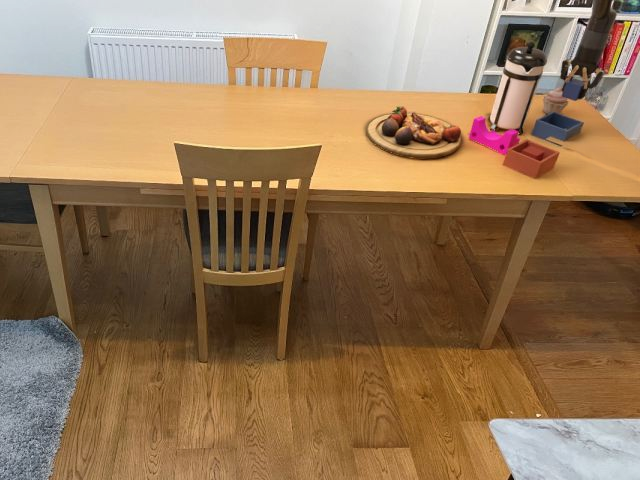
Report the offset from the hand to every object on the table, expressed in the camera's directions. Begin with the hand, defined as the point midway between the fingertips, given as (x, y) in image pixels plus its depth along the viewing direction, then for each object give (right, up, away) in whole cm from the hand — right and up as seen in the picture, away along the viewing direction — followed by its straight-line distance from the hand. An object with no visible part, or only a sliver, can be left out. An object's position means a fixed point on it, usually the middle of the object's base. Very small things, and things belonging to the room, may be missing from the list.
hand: (572, 95), depth 197 cm
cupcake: (+6, +2, +26) cm, 27 cm away
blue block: (0, 0, 0) cm, 0 cm away
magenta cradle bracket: (-25, -16, +4) cm, 30 cm away
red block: (-18, -25, -7) cm, 31 cm away
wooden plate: (-52, -13, +7) cm, 54 cm away
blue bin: (-1, -11, +11) cm, 15 cm away
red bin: (-18, -25, -7) cm, 32 cm away
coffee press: (-16, -6, +16) cm, 24 cm away
